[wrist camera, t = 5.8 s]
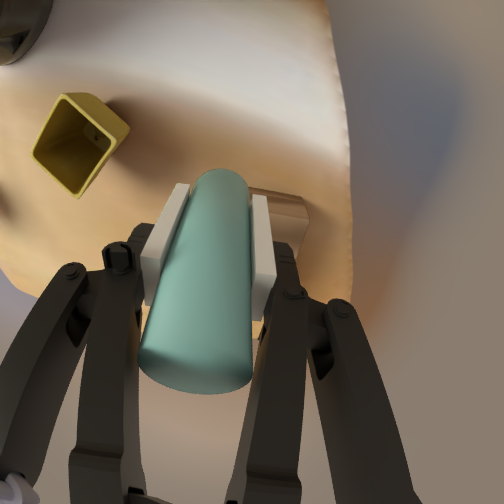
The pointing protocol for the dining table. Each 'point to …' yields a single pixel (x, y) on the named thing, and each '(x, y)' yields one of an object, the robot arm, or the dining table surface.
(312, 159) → the dining table surface
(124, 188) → the dining table surface
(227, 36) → the dining table surface
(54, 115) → the flower pot
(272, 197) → the block
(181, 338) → the pin
